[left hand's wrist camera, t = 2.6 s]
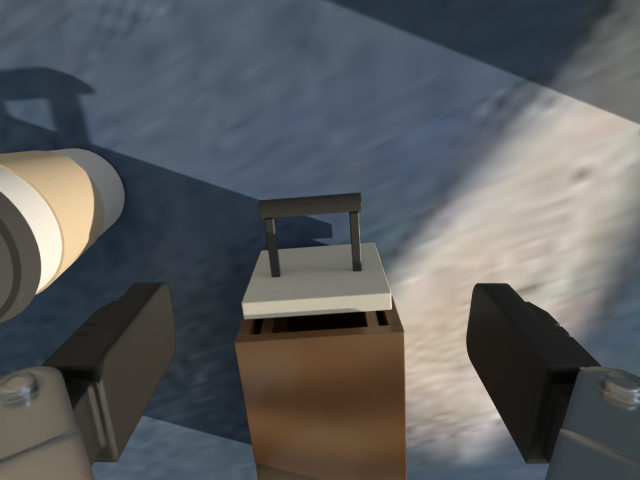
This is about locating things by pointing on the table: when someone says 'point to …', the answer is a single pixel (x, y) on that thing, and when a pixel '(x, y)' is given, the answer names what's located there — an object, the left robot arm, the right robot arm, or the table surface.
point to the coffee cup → (50, 217)
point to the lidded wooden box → (326, 400)
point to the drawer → (316, 274)
